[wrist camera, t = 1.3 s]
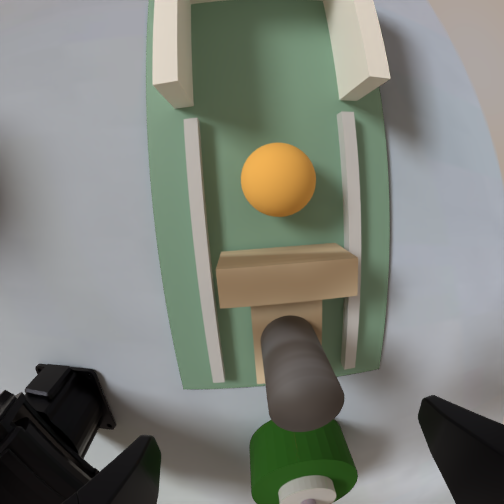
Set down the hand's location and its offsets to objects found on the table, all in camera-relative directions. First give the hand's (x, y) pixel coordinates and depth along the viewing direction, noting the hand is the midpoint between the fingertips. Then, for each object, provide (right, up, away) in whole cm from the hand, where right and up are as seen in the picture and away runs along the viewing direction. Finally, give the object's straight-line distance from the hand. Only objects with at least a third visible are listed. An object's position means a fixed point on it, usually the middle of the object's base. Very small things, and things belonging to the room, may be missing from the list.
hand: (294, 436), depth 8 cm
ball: (0, +10, +8) cm, 12 cm away
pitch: (0, +11, +10) cm, 15 cm away
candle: (+3, -11, +15) cm, 19 cm away
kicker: (+1, +2, +11) cm, 11 cm away
